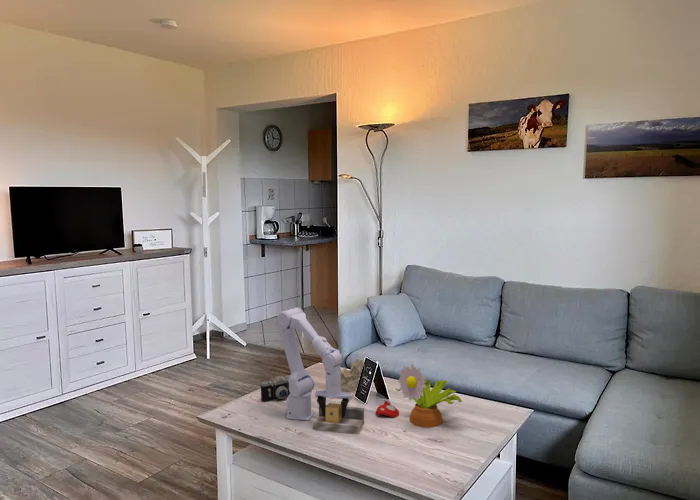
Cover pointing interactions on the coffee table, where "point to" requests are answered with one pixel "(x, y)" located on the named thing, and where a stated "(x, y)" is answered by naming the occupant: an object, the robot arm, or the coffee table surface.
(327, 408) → the cabinet block
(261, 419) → the coffee table surface
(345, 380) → the rough stone chunk
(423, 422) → the decorative plant
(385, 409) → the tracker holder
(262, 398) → the camera
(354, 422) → the board
